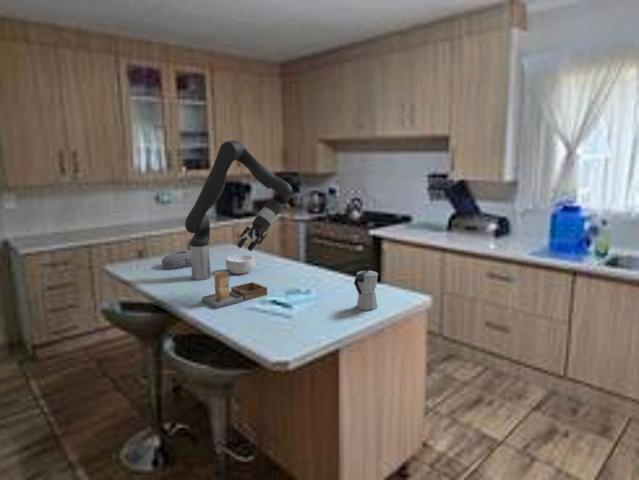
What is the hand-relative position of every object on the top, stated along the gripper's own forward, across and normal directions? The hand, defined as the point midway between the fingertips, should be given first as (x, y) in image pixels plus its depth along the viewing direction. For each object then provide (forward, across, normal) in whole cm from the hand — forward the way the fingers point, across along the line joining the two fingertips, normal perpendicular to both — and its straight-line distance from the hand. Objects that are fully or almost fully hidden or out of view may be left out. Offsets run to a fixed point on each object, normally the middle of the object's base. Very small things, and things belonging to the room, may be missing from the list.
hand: (243, 248), depth 200 cm
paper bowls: (+2, -36, +30) cm, 47 cm away
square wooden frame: (+14, 0, +17) cm, 22 cm away
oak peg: (+23, 0, +6) cm, 24 cm away
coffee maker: (-4, +48, +35) cm, 59 cm away
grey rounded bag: (+15, -71, +16) cm, 75 cm away
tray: (+24, 0, +7) cm, 25 cm away
